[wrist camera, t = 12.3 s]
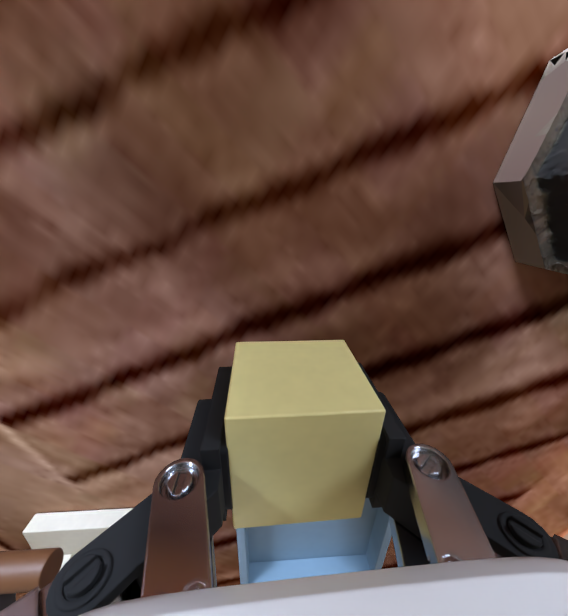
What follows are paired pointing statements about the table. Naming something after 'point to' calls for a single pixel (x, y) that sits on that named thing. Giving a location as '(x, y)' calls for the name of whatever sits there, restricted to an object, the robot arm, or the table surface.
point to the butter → (299, 432)
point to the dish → (314, 547)
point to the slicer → (69, 529)
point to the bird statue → (539, 175)
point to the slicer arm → (27, 571)
